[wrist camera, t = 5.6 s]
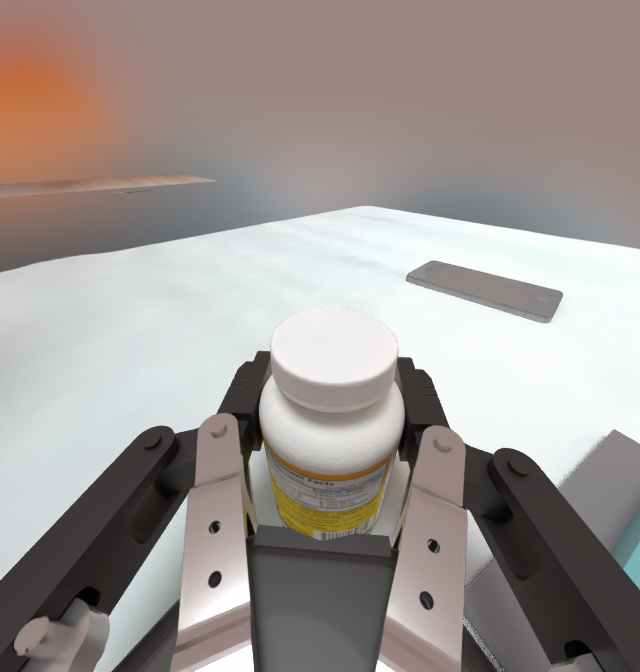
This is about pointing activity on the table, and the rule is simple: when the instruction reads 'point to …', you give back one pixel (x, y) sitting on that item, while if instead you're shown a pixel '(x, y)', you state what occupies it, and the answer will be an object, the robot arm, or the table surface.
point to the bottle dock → (604, 521)
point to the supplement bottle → (331, 420)
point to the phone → (489, 290)
